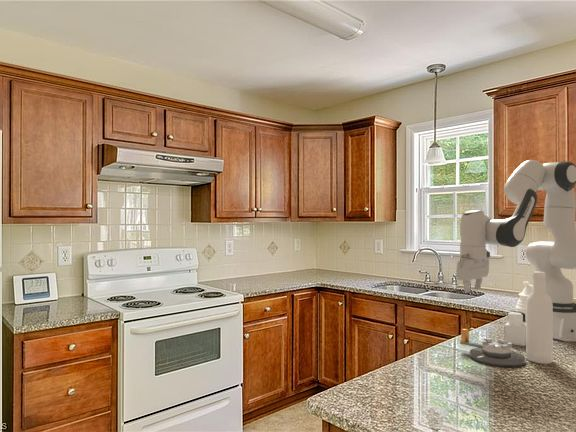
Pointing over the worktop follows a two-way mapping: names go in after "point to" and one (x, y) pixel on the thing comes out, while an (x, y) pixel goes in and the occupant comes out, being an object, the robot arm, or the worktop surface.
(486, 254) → the robot arm
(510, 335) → the medicine bottle
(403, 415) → the worktop surface
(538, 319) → the bottle
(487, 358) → the flange
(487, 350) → the crank handle dial
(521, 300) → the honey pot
